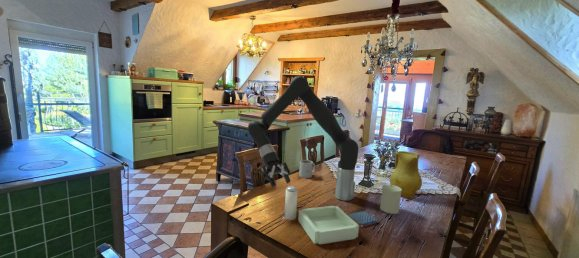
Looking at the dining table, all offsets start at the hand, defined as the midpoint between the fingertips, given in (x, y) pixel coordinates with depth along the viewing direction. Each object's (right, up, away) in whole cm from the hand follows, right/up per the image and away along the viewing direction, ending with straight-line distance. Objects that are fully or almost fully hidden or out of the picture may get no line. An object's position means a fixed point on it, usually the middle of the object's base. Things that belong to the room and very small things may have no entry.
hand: (281, 184), depth 121 cm
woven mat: (+37, -16, -2) cm, 41 cm away
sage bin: (+19, -16, -12) cm, 28 cm away
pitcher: (+72, -12, +32) cm, 80 cm away
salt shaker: (+4, -14, -3) cm, 15 cm away
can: (+54, -15, +10) cm, 57 cm away
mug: (+16, -6, +54) cm, 57 cm away
